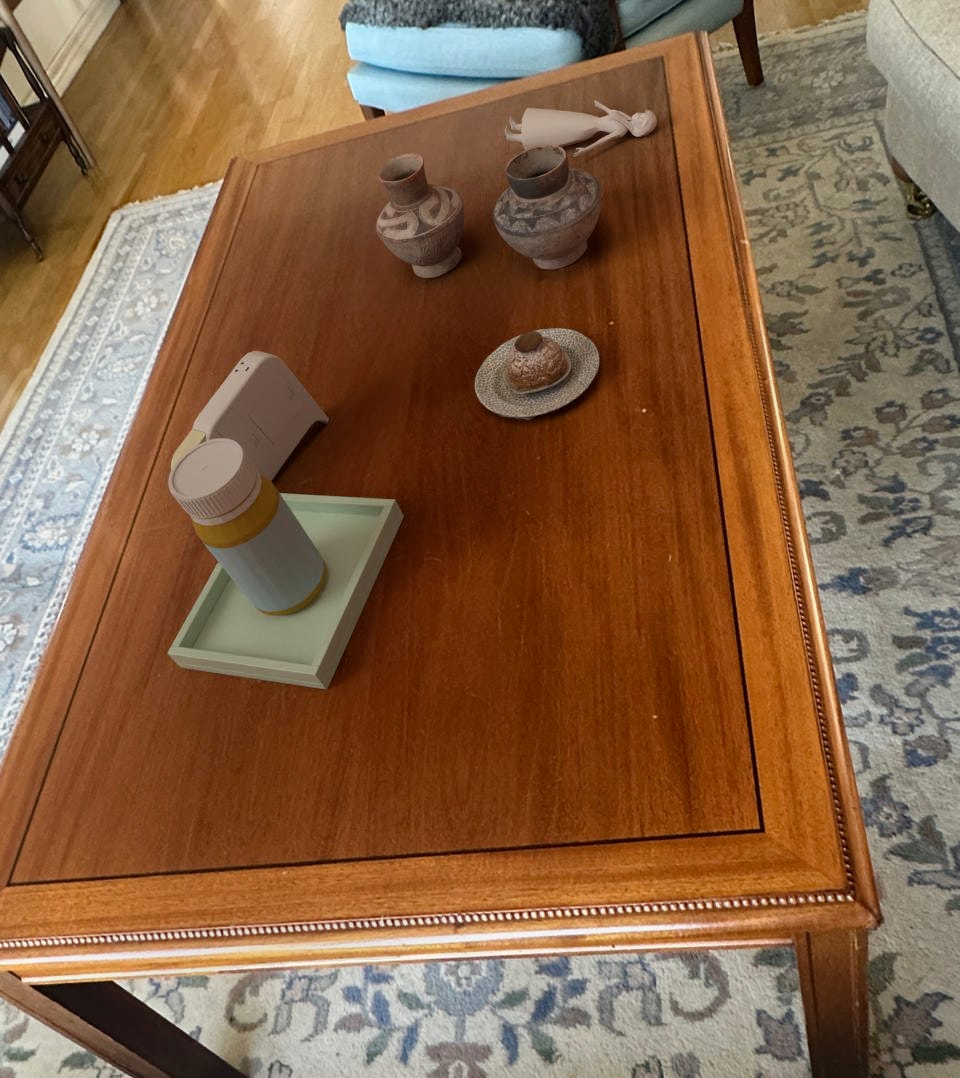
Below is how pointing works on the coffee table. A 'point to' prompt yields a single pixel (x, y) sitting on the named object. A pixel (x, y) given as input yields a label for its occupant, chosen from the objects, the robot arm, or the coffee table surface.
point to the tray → (317, 629)
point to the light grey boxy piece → (257, 413)
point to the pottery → (519, 214)
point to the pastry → (537, 373)
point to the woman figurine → (576, 127)
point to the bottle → (248, 527)
